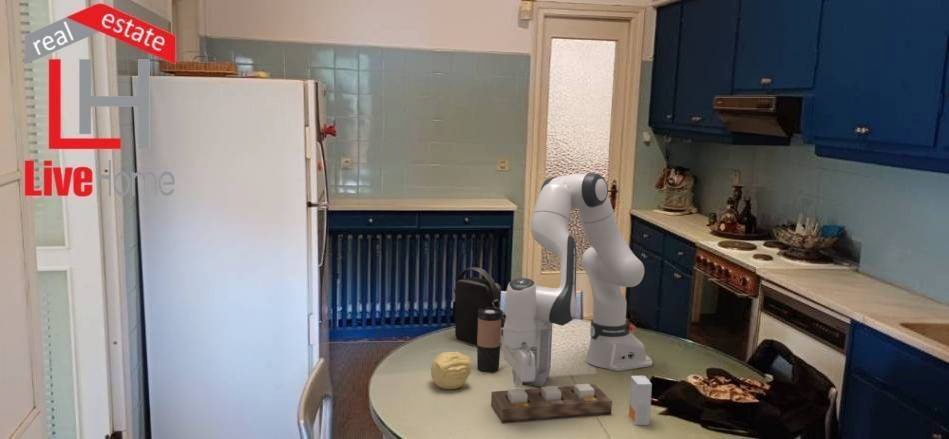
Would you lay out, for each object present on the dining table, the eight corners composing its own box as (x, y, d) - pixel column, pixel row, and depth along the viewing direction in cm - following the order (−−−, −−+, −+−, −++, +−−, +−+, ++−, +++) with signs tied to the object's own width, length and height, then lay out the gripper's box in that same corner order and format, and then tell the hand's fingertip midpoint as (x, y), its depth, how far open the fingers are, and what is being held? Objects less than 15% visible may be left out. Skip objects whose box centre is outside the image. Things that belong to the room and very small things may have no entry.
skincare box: (627, 415, 192) (630, 375, 190) (642, 415, 192) (645, 375, 190) (634, 425, 186) (637, 383, 184) (649, 425, 186) (652, 383, 184)
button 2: (587, 393, 199) (588, 383, 199) (593, 399, 195) (594, 389, 194) (573, 394, 198) (574, 384, 198) (579, 400, 194) (579, 390, 193)
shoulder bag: (443, 337, 254) (445, 264, 249) (459, 331, 261) (461, 260, 256) (492, 352, 240) (494, 274, 235) (507, 345, 247) (509, 270, 242)
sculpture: (441, 395, 202) (441, 361, 200) (425, 381, 213) (425, 348, 211) (475, 389, 207) (476, 355, 206) (457, 375, 218) (458, 343, 216)
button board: (594, 396, 204) (595, 383, 203) (611, 414, 192) (612, 399, 192) (491, 404, 197) (491, 390, 196) (502, 423, 185) (502, 408, 184)
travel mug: (497, 374, 219) (499, 314, 216) (474, 372, 221) (475, 312, 218) (501, 365, 227) (503, 308, 224) (478, 363, 228) (480, 306, 225)
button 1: (522, 398, 194) (522, 388, 194) (527, 404, 190) (527, 394, 190) (507, 399, 193) (508, 389, 193) (512, 405, 189) (512, 395, 189)
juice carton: (551, 376, 219) (555, 295, 214) (544, 389, 209) (547, 304, 205) (524, 372, 222) (527, 292, 217) (516, 384, 212) (519, 300, 207)
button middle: (555, 395, 197) (556, 386, 196) (560, 402, 192) (561, 392, 192) (541, 396, 196) (541, 387, 195) (546, 403, 191) (546, 393, 191)
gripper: (542, 349, 180) (540, 399, 182) (519, 325, 199) (518, 370, 201) (519, 350, 178) (517, 400, 180) (499, 326, 198) (497, 371, 200)
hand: (517, 384), depth 191 cm, fingers closed
